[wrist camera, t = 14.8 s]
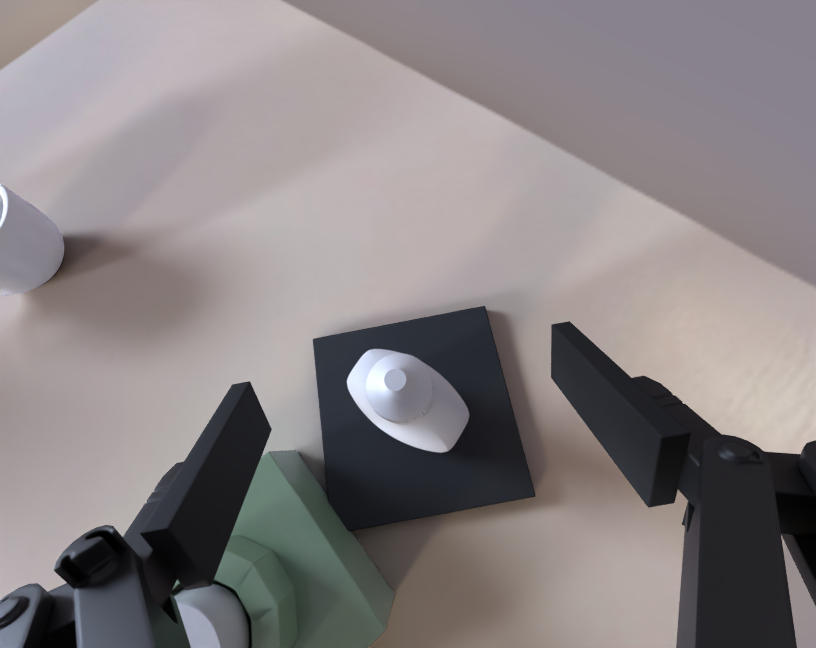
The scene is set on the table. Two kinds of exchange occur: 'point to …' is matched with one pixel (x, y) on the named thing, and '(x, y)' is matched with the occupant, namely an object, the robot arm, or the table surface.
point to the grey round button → (213, 618)
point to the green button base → (300, 565)
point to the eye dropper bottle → (408, 400)
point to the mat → (406, 465)
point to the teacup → (26, 245)
